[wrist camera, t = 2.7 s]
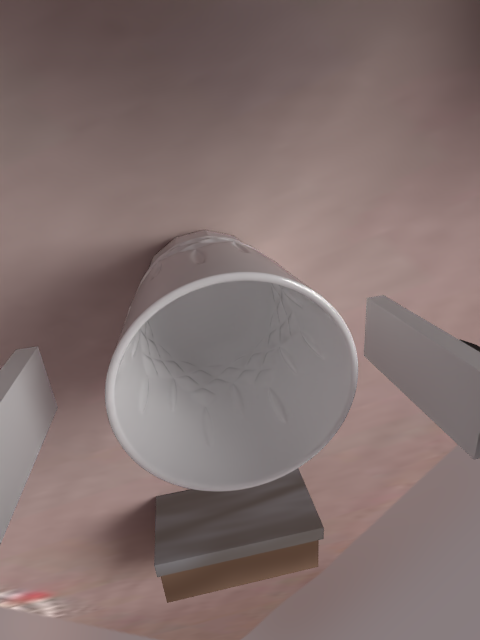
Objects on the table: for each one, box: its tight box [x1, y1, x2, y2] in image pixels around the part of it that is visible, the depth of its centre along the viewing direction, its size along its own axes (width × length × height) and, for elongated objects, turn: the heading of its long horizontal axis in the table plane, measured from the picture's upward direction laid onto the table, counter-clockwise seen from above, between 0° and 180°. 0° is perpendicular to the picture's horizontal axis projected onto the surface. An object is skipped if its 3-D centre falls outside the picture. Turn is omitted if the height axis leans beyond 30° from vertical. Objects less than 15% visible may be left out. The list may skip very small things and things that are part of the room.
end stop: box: [154, 468, 324, 603], centre depth 25 cm, size 5×10×5 cm, turn 95°
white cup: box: [105, 230, 358, 492], centre depth 16 cm, size 8×8×10 cm
